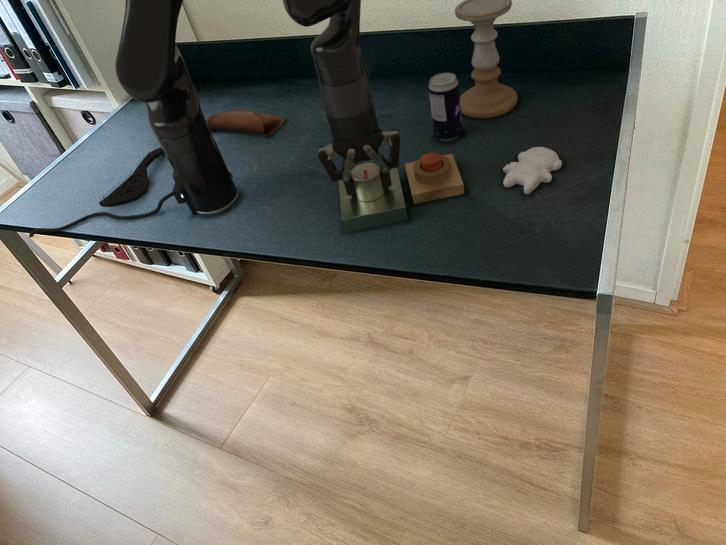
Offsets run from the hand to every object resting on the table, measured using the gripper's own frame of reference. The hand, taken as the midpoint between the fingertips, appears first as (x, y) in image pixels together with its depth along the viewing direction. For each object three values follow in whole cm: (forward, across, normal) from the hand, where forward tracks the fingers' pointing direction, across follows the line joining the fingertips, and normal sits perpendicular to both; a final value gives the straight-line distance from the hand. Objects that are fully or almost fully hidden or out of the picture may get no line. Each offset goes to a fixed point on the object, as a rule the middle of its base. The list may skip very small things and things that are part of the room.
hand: (369, 191), depth 94 cm
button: (0, -12, -3) cm, 12 cm away
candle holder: (+4, -27, -27) cm, 38 cm away
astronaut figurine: (+4, -28, 0) cm, 28 cm away
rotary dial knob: (0, 0, 0) cm, 0 cm away
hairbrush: (+4, +51, -28) cm, 58 cm away
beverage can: (+4, -17, -18) cm, 25 cm away
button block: (+3, -12, -3) cm, 12 cm away
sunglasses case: (+4, +27, -42) cm, 50 cm away
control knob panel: (+3, 0, 0) cm, 3 cm away
